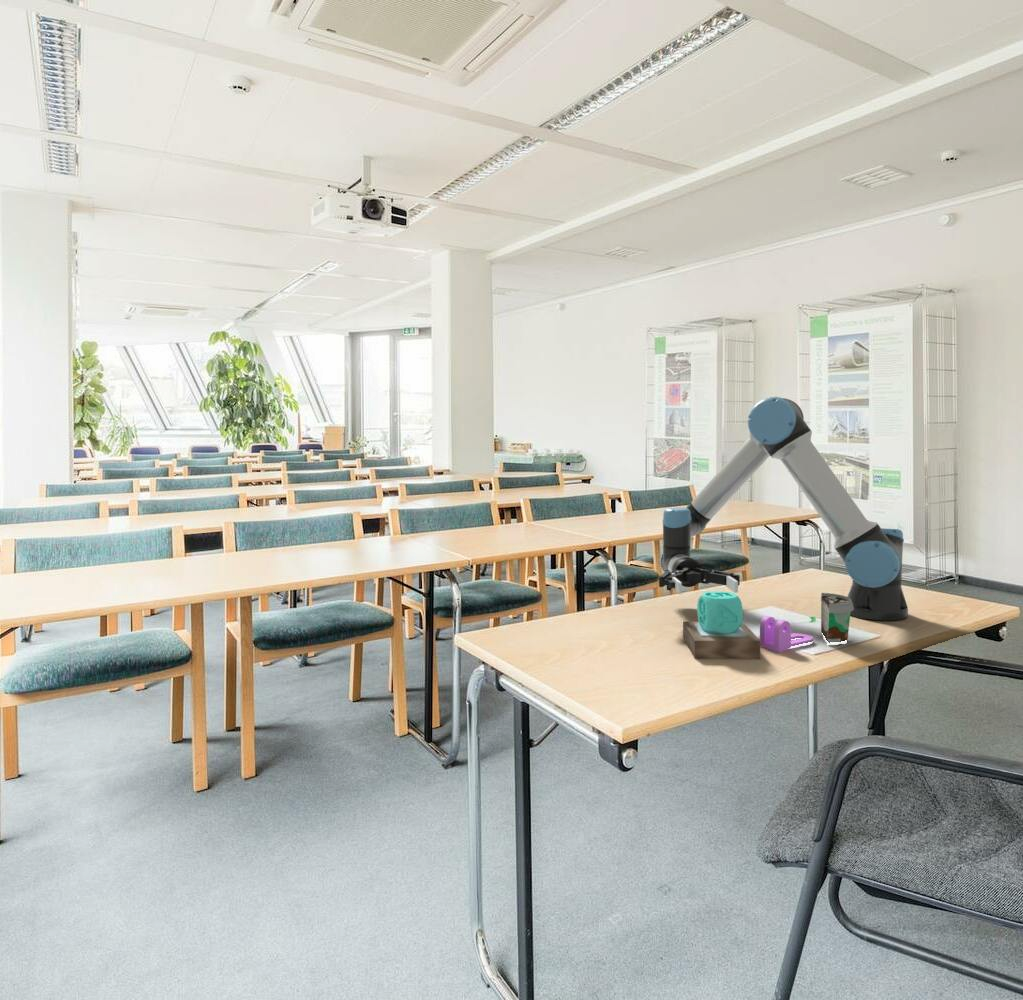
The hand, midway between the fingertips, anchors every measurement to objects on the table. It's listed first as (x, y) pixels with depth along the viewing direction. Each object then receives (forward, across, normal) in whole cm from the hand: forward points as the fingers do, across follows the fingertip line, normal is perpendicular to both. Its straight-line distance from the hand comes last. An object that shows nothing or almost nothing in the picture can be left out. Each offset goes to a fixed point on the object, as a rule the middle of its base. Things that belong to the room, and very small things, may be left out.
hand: (708, 587), depth 181 cm
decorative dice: (+10, 0, -8) cm, 12 cm away
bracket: (+8, -16, -12) cm, 22 cm away
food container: (+6, -29, -12) cm, 32 cm away
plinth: (+10, 0, -12) cm, 15 cm away
